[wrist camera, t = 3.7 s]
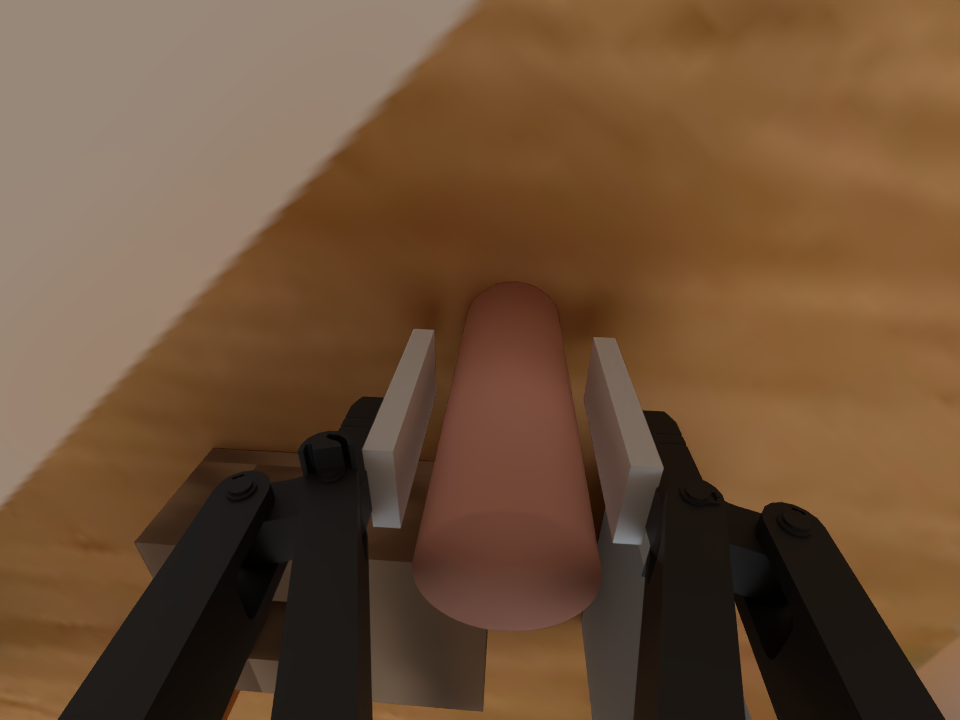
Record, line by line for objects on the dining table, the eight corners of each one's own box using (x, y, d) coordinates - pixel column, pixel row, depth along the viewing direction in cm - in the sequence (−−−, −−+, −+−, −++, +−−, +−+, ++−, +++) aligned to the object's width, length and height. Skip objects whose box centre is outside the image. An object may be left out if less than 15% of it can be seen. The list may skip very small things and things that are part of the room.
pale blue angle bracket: (458, 611, 31) (412, 1009, 18) (455, 448, 24) (377, 905, 11) (612, 623, 31) (684, 1042, 17) (656, 459, 24) (837, 955, 10)
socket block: (261, 587, 31) (211, 687, 26) (212, 448, 25) (134, 542, 20) (488, 605, 31) (482, 711, 25) (494, 465, 24) (488, 568, 19)
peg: (465, 363, 21) (416, 624, 11) (465, 279, 19) (406, 504, 9) (554, 368, 21) (588, 637, 11) (564, 283, 19) (616, 518, 9)
